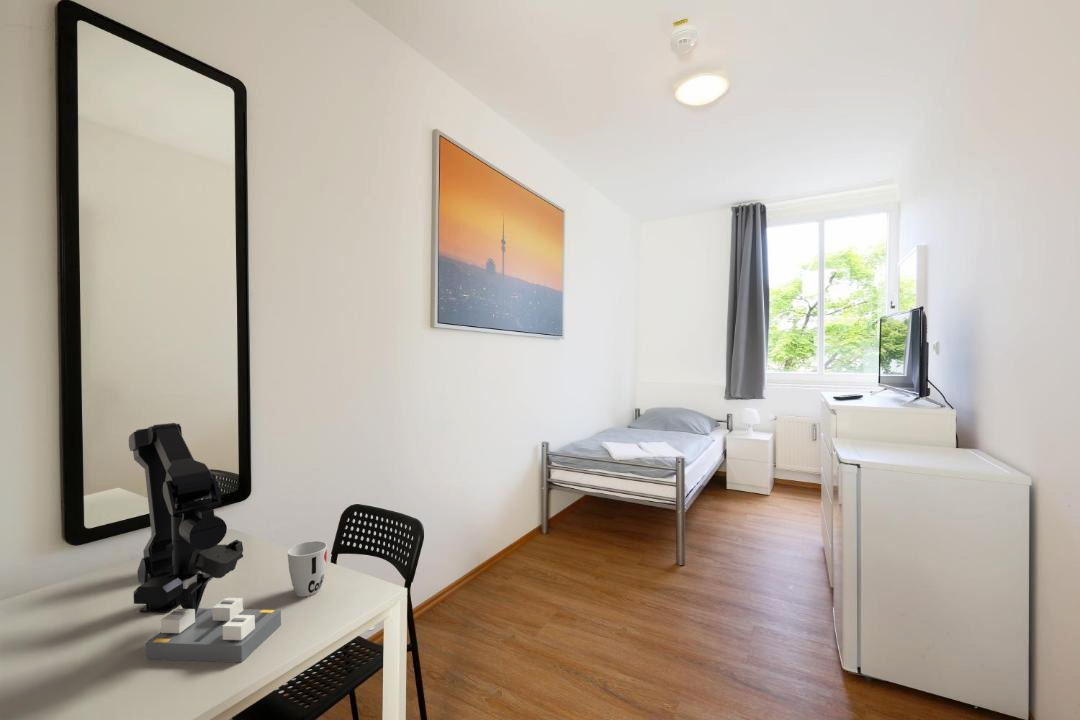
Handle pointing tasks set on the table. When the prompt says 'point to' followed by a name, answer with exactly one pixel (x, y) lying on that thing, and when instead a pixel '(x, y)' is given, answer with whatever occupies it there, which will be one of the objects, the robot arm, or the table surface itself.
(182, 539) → the robot arm
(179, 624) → the switch near
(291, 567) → the cup
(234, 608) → the switch middle
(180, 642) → the console
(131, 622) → the table surface
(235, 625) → the switch far
